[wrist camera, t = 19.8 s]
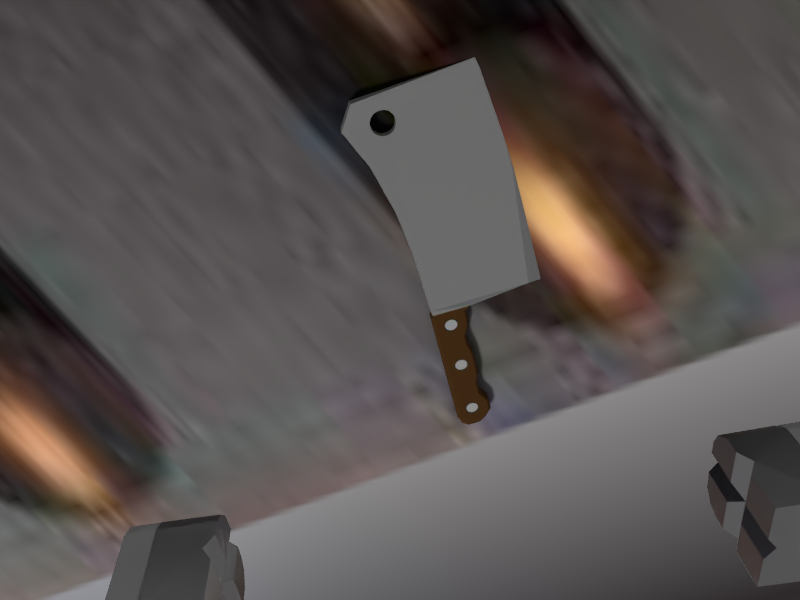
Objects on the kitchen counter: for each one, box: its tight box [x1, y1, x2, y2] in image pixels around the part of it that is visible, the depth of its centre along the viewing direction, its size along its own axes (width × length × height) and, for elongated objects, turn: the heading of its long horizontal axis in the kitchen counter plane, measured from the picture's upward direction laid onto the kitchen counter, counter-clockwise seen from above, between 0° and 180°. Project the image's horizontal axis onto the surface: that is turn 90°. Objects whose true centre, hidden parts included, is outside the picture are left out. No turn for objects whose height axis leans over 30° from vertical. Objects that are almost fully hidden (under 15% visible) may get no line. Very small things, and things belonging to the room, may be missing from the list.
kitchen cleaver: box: [341, 57, 540, 424], centre depth 43 cm, size 24×1×10 cm
